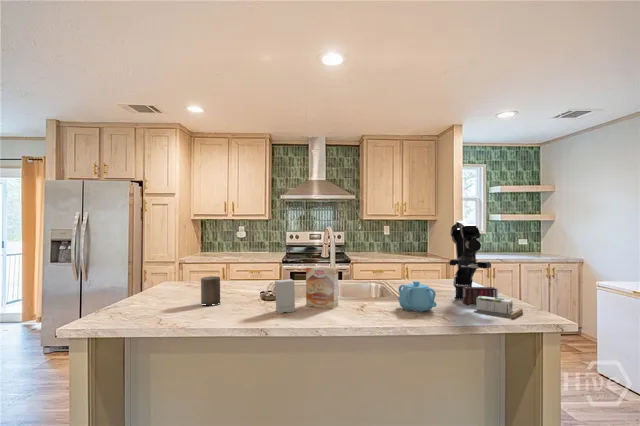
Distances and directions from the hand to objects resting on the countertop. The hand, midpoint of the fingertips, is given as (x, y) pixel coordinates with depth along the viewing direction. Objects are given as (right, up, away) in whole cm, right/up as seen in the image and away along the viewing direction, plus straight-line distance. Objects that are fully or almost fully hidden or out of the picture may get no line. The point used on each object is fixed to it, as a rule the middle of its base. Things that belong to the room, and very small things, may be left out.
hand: (469, 280), depth 184 cm
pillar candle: (-132, -14, +7) cm, 132 cm away
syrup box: (+1, -9, -7) cm, 12 cm away
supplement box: (+14, -8, +2) cm, 16 cm away
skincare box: (-91, -13, -9) cm, 93 cm away
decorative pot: (-28, -13, -7) cm, 32 cm away
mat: (+7, -12, -14) cm, 20 cm away
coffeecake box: (-74, -13, +1) cm, 75 cm away
